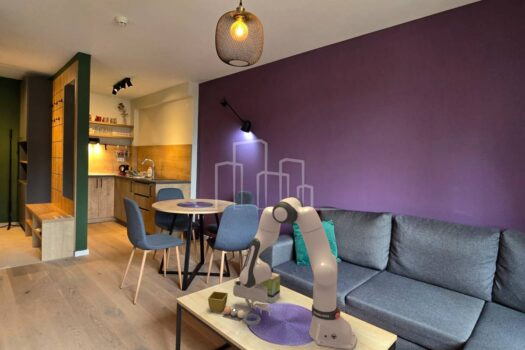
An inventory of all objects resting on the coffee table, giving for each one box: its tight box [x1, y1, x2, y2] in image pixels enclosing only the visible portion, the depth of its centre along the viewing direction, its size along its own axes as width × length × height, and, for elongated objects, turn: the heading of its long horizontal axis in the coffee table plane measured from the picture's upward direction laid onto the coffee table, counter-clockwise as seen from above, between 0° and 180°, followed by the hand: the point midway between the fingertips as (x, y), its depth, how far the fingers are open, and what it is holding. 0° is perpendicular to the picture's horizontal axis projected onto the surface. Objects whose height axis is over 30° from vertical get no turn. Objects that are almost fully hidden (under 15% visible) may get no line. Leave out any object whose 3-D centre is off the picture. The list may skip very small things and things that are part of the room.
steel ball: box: [230, 307, 239, 316], centre depth 159 cm, size 4×4×4 cm
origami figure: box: [253, 302, 271, 317], centre depth 164 cm, size 12×8×5 cm
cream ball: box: [237, 309, 246, 318], centre depth 157 cm, size 4×4×4 cm
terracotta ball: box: [223, 306, 232, 315], centre depth 161 cm, size 4×4×4 cm
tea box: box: [259, 272, 281, 304], centre depth 183 cm, size 15×10×15 cm
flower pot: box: [207, 290, 229, 314], centre depth 165 cm, size 9×9×9 cm
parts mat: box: [221, 313, 243, 323], centre depth 159 cm, size 11×7×1 cm, turn 66°
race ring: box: [242, 313, 262, 327], centre depth 155 cm, size 8×8×2 cm
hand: (250, 306), depth 167 cm, fingers closed
